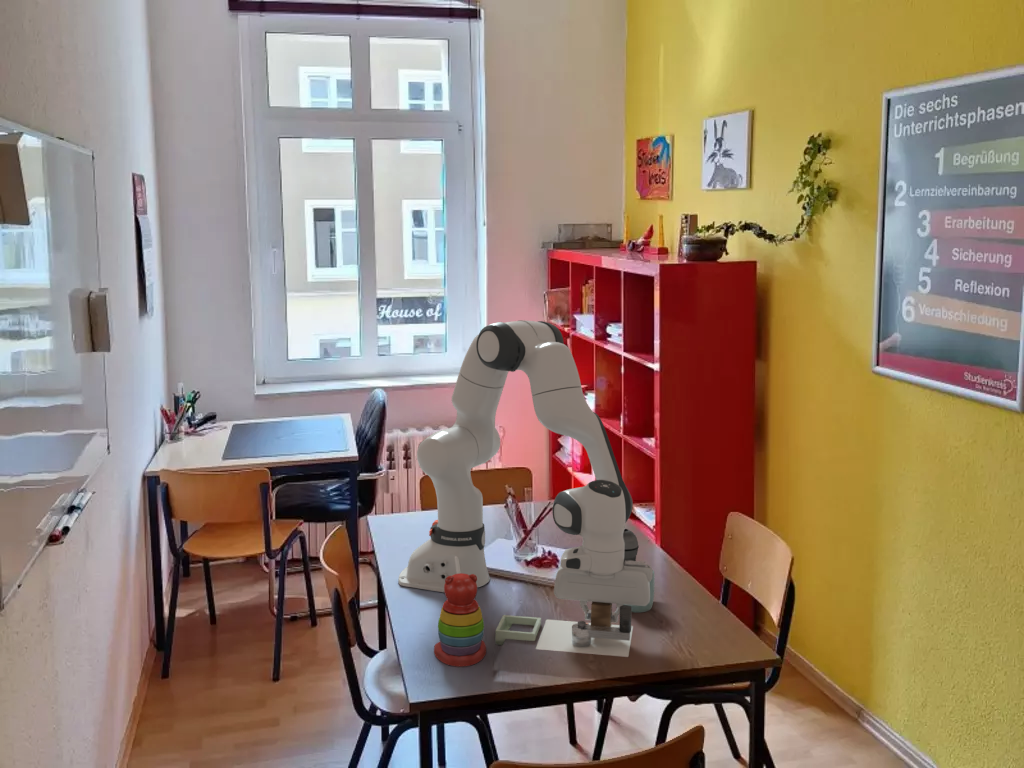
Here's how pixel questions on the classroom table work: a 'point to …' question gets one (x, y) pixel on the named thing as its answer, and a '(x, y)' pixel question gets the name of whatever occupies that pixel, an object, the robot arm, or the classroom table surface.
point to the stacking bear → (460, 623)
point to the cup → (649, 605)
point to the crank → (603, 629)
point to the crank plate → (560, 639)
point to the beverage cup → (630, 545)
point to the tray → (504, 633)
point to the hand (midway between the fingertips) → (601, 620)
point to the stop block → (601, 614)
